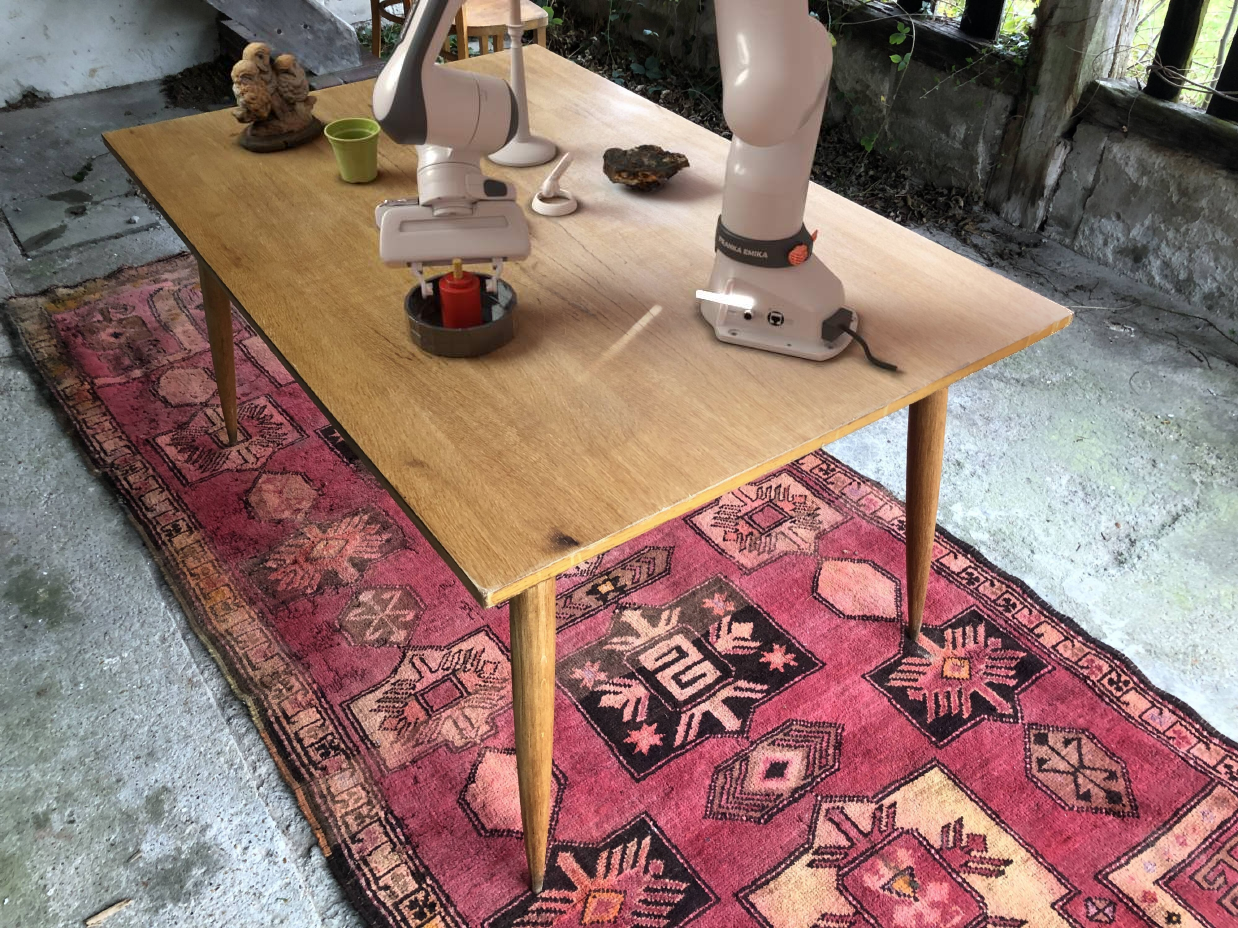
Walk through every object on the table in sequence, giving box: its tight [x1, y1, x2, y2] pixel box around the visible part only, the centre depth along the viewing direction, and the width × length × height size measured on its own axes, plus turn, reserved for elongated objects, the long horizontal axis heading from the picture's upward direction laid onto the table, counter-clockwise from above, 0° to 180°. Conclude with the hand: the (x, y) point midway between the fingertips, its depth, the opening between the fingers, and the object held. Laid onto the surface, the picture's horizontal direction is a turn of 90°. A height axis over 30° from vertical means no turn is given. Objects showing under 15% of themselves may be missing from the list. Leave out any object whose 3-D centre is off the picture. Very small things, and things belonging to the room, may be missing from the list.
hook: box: [531, 151, 578, 217], centre depth 163 cm, size 8×12×7 cm
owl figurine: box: [230, 42, 323, 153], centre depth 179 cm, size 18×12×17 cm, turn 148°
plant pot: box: [323, 117, 382, 184], centre depth 170 cm, size 9×9×9 cm
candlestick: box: [486, 0, 557, 168], centre depth 172 cm, size 13×13×30 cm
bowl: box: [403, 271, 519, 358], centre depth 135 cm, size 15×15×5 cm
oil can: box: [439, 259, 483, 329], centre depth 132 cm, size 5×5×10 cm
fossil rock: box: [602, 144, 691, 193], centre depth 171 cm, size 14×14×6 cm
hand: (460, 295), depth 132 cm, fingers open, 7 cm apart
